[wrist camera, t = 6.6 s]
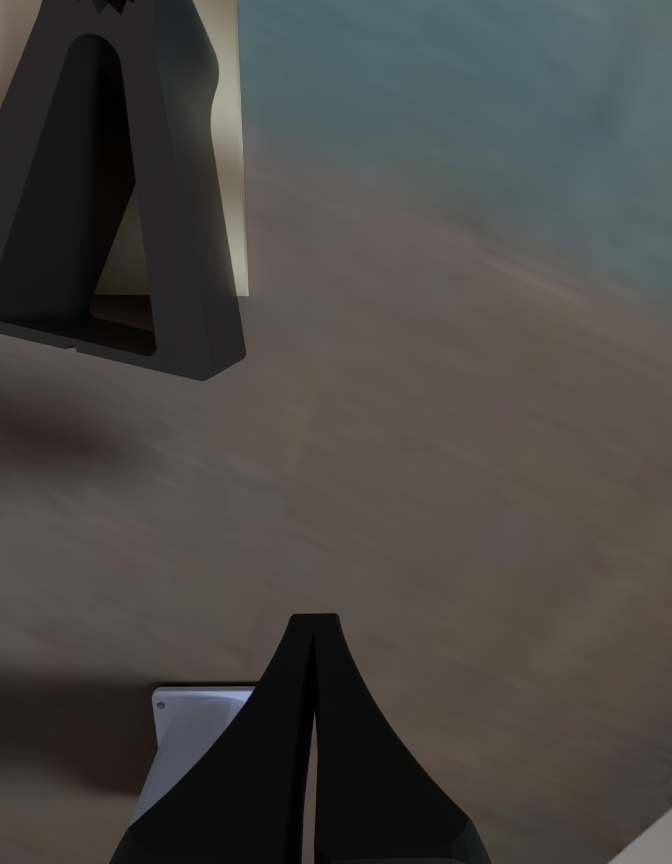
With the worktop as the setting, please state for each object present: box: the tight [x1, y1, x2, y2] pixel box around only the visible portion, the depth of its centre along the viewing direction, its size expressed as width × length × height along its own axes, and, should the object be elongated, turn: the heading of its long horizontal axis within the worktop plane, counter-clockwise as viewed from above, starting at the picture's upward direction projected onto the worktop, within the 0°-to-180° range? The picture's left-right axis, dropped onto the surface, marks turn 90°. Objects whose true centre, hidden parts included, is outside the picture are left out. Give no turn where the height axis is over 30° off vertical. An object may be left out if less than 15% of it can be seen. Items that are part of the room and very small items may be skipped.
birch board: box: [0, 0, 249, 296], centre depth 18 cm, size 11×11×1 cm
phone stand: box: [0, 0, 246, 381], centre depth 15 cm, size 9×6×12 cm
